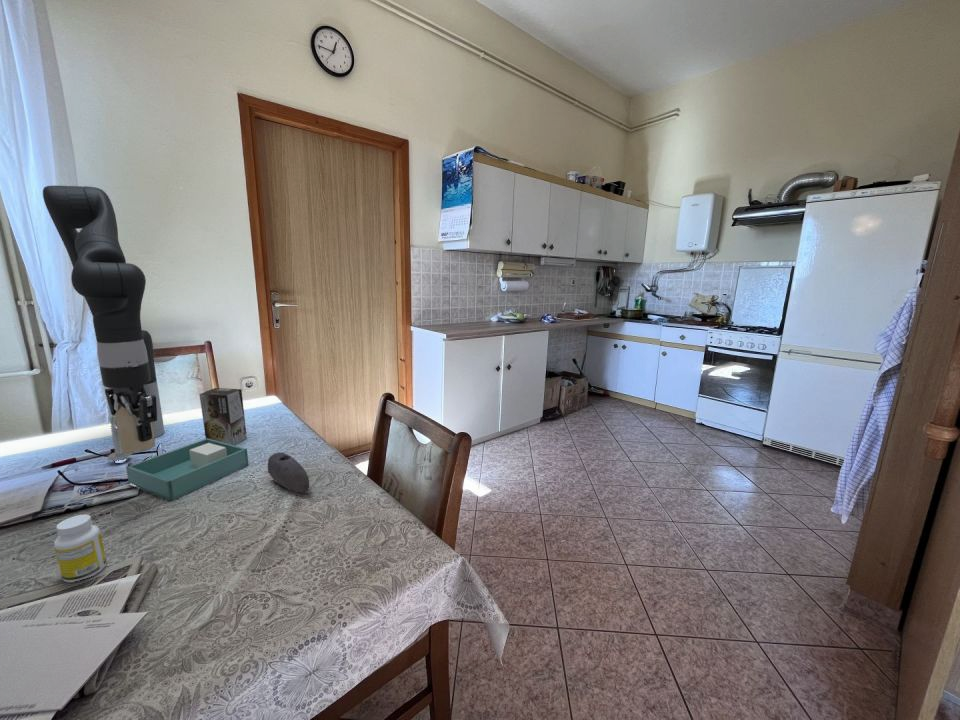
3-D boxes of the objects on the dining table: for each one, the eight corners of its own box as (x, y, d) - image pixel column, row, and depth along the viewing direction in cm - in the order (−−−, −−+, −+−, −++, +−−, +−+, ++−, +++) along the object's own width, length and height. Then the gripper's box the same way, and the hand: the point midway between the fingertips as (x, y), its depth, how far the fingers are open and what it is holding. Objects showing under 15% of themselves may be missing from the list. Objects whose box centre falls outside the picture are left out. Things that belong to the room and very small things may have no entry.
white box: (191, 465, 102) (189, 449, 101) (210, 457, 106) (208, 442, 105) (209, 471, 99) (206, 455, 98) (227, 463, 104) (226, 447, 103)
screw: (105, 463, 103) (127, 456, 108) (114, 467, 101) (136, 460, 106) (96, 417, 101) (119, 412, 105) (105, 421, 99) (129, 415, 103)
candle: (161, 445, 86) (154, 402, 83) (132, 455, 81) (124, 410, 78) (145, 440, 87) (137, 399, 85) (115, 450, 82) (107, 406, 80)
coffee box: (248, 437, 122) (242, 388, 118) (233, 446, 116) (227, 394, 112) (221, 436, 123) (215, 387, 119) (205, 444, 116) (198, 393, 113)
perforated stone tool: (317, 493, 92) (315, 466, 91) (295, 502, 88) (293, 474, 87) (287, 472, 101) (285, 448, 100) (266, 480, 97) (264, 455, 96)
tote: (129, 485, 93) (126, 467, 92) (209, 453, 110) (207, 438, 109) (170, 501, 87) (167, 481, 86) (248, 465, 104) (246, 448, 103)
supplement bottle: (82, 561, 69) (72, 512, 67) (115, 560, 69) (105, 511, 67) (52, 584, 63) (39, 532, 61) (88, 583, 64) (76, 531, 62)
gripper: (81, 361, 79) (96, 437, 83) (122, 370, 74) (136, 451, 77) (126, 354, 86) (138, 425, 90) (166, 362, 80) (177, 437, 84)
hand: (137, 437), depth 84 cm, fingers closed on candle, 5 cm apart
